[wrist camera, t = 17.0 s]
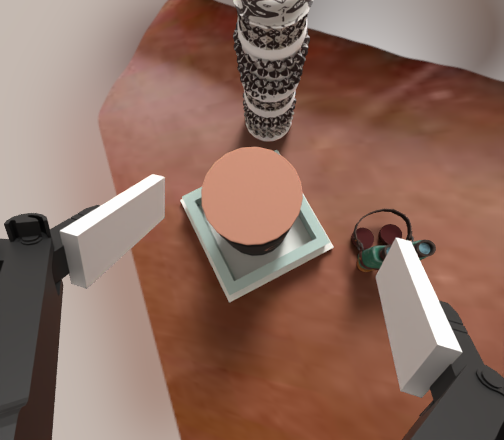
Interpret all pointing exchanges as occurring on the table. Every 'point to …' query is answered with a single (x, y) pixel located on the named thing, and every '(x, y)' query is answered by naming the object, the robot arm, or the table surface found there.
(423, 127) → the table surface
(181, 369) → the table surface
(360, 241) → the binoculars
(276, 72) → the decorative candle
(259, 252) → the coffee jar
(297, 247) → the pocket tray
